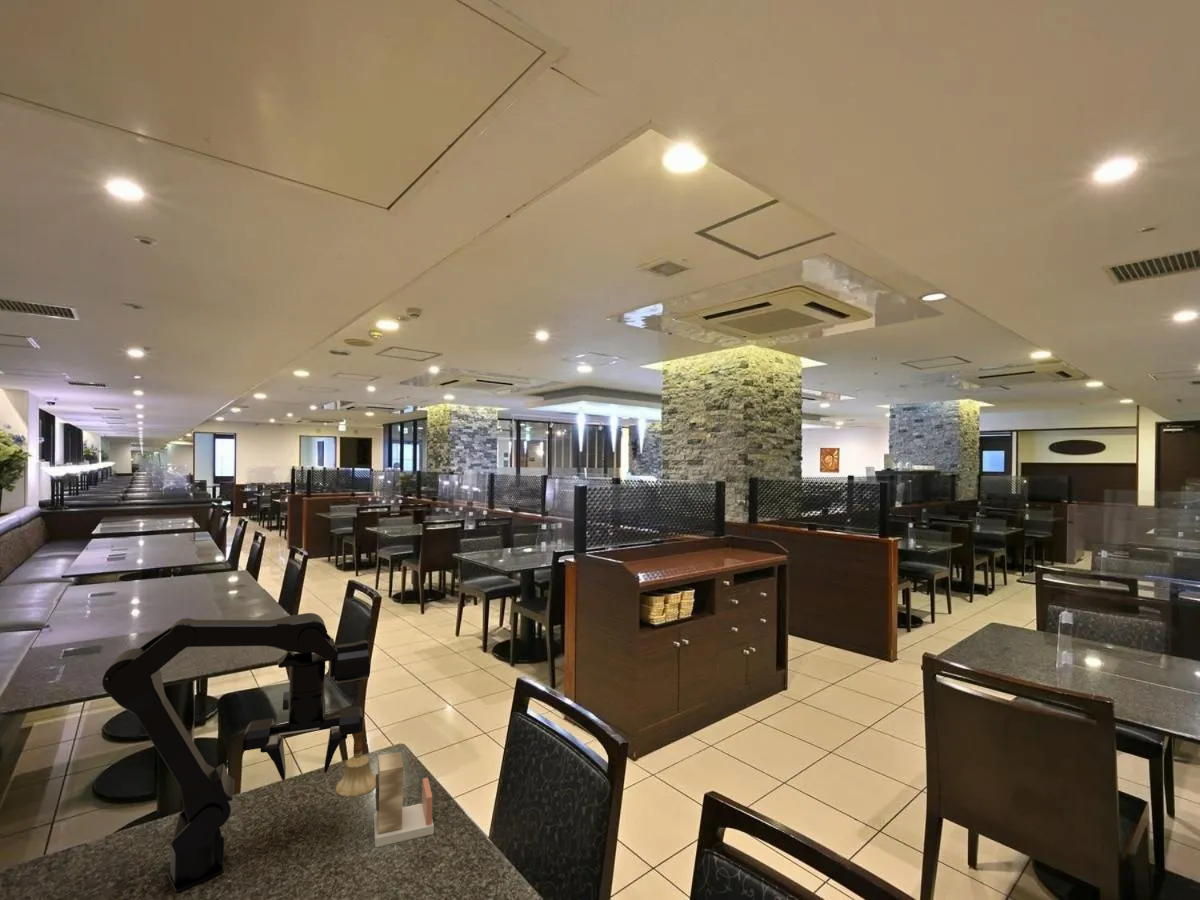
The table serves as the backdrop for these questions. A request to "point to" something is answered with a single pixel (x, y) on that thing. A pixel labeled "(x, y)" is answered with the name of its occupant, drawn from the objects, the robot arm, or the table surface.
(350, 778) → the hand bell
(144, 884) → the table surface
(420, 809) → the base
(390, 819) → the tan tall block
